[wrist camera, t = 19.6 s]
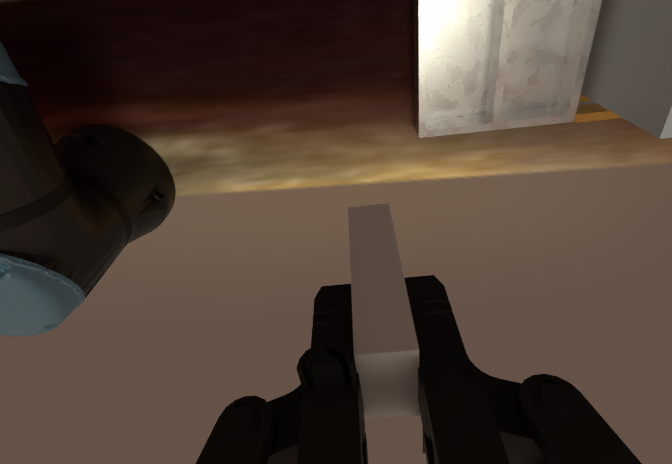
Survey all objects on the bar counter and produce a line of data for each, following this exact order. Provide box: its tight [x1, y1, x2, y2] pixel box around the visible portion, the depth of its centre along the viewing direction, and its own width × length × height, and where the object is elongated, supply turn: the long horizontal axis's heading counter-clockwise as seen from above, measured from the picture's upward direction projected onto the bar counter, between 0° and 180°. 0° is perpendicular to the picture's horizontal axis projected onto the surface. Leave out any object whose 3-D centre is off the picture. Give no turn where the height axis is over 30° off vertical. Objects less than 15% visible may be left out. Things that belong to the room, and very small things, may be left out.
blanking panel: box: [581, 0, 672, 139], centre depth 32 cm, size 5×14×14 cm, turn 7°
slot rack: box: [414, 0, 622, 138], centre depth 38 cm, size 24×19×4 cm
